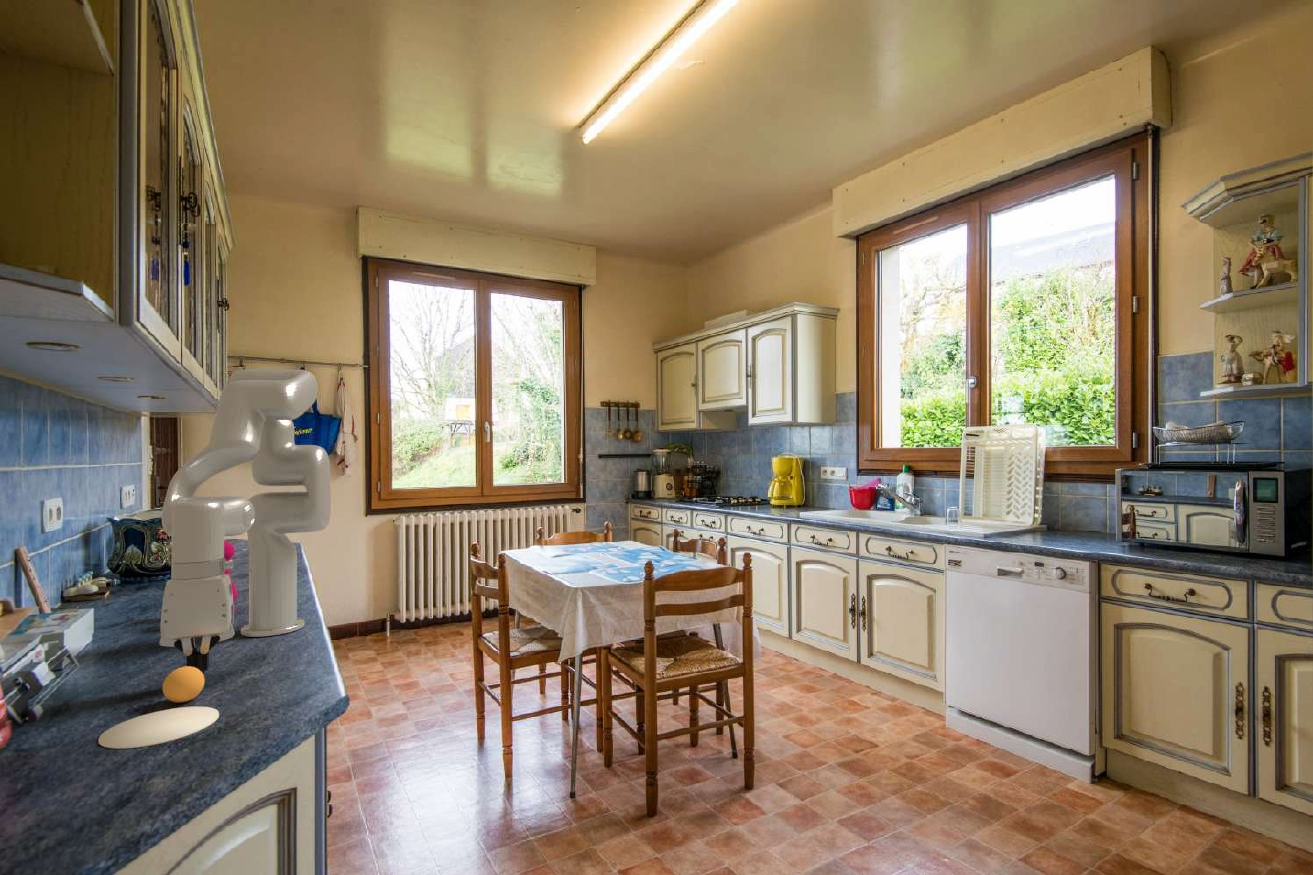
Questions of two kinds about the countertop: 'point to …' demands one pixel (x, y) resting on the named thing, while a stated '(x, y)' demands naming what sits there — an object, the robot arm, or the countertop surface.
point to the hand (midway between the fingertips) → (197, 675)
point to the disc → (158, 727)
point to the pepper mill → (228, 554)
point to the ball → (183, 684)
